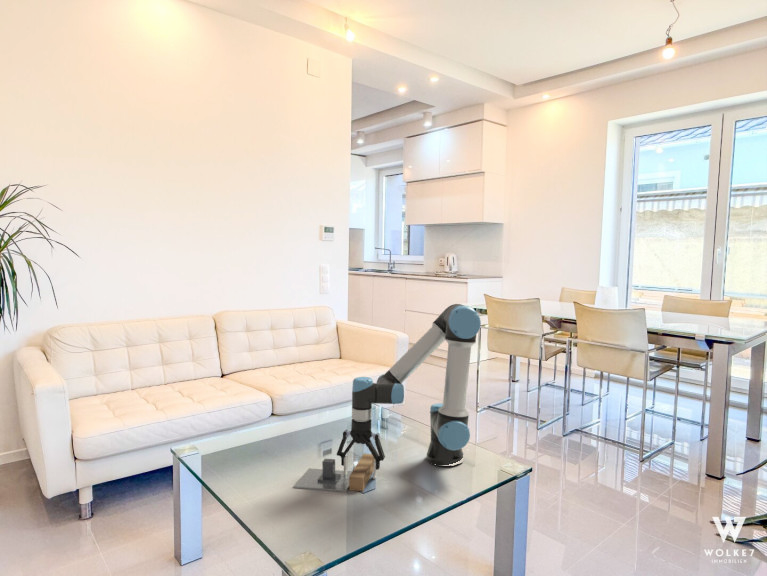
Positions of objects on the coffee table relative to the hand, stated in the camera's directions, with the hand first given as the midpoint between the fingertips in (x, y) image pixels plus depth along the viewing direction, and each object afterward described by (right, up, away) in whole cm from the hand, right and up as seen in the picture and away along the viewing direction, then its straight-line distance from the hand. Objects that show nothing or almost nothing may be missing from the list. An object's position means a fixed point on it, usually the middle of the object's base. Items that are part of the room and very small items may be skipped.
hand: (360, 475), depth 183 cm
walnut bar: (+1, -1, 0) cm, 2 cm away
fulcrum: (-11, -1, -3) cm, 12 cm away
